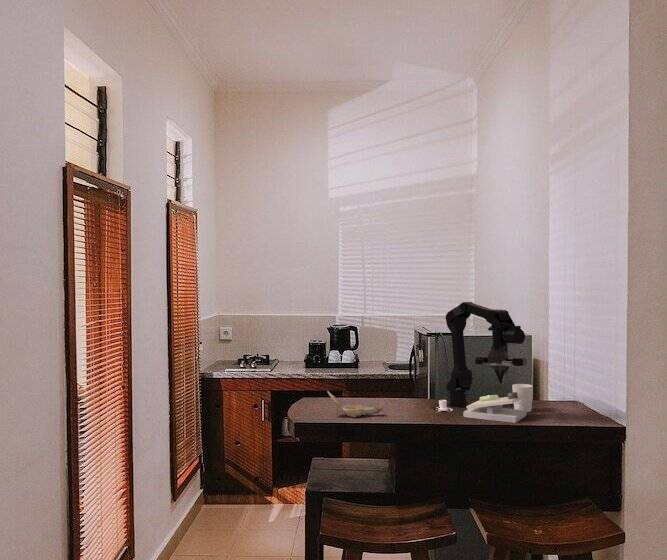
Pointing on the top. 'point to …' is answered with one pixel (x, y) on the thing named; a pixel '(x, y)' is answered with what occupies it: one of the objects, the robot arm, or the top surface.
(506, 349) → the robot arm
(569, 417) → the top surface
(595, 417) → the top surface
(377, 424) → the top surface
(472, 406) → the instrument plate
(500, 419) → the instrument base
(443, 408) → the teacup and saucer
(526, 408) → the white cup
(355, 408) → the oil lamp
